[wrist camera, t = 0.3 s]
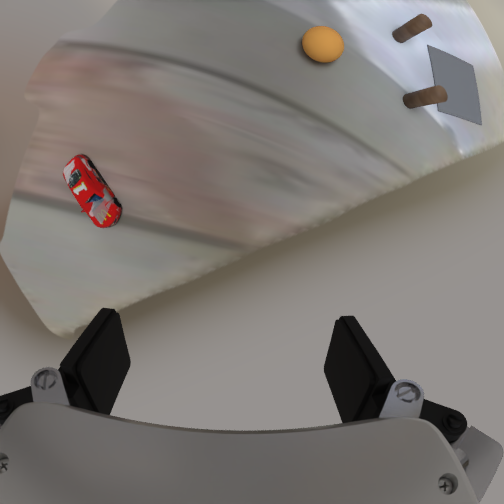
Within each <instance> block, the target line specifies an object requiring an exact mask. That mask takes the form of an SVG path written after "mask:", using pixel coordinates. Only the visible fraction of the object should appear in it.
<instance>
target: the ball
mask: <svg viewBox="0 0 504 504" xmlns="http://www.w3.org/2000/svg"><path fill="white" fill-rule="evenodd" d="M302 45H303V49H304V51H305V52H306V54H307V55H308V56H309V57H311V58H312V59H314V60H316V61H319V62H332V61H335V60H336V59H338V58H339V57H340V56H341V55H342V53H343V50H344V42H343V39H342V37H341V36H340V35H339V34H338V33H337V32H336V31H335V30H333V29H331V28H329V27H325V26H317V27H313V28H311V29H309V30H308V31H307V32H306V33H305V34H304V36H303V39H302Z"/></svg>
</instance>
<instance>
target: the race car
mask: <svg viewBox="0 0 504 504" xmlns="http://www.w3.org/2000/svg"><path fill="white" fill-rule="evenodd" d="M63 176H64V179H65V180H66V182H67V184H68V186H69V188H70V190H71V191H72V193H73V195H74V196H75V198H76V200H77V201H78V203H79V204H80V206H81V207H82V208H83V210H82V211H81V212H86V213H87V215H88V216H89V217H90V218H91V220H92V221H93V223H94V224H95V225H96V226H97V227H100V228H107V227H111V226H113V225H115V224H116V223H117V221H118V220H119V218H120V215H121V210H122V208H120V207H121V204H120V203H119V202H118V200H117V198H113V197H114V194H113V193H112V191H111V190H110V188H109V187H108V185H107V184H106V183H105V181H104V180H103V178H102V177H101V175H100V174H99V172H98V170H97V169H95V166H94V165H93V163H92V161H90V160H89V158H88V157H87V156H85V155H77V156H75V157H74V158H73V159H71V160H70V161H69V163H68V164H67V165H66V166H65V168H64V170H63Z"/></svg>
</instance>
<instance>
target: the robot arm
mask: <svg viewBox="0 0 504 504" xmlns="http://www.w3.org/2000/svg"><path fill="white" fill-rule="evenodd" d="M129 368H130V357H129V353H128V349H127V345H126V341H125V337H124V333H123V328H122V324H121V320H120V315H119V313H116V311H115V309H109V308H102V309H101V310H100V311H99V312H98V314H97V315H96V316H95V317H94V319H93V320H92V321H91V323H90V324H89V325H88V327H87V328H86V329H85V330H84V332H83V333H82V334H81V336H80V337H79V338H78V340H77V341H76V343H75V344H74V345H73V347H72V348H71V349H70V351H69V353H68V354H67V355H66V356H65V358H64V359H63V361H62V362H61V364H60V368H59V369H58V370H57V369H55V368H51V367H46V368H42V369H39V370H38V371H36V372H35V373H34V375H33V376H32V378H31V386H29V387H26V388H23V389H20V390H17V391H14V392H11V393H8V394H4V395H2V396H0V504H479V502H480V501H481V499H482V497H483V496H484V494H485V492H486V490H487V488H488V486H489V485H490V483H491V481H492V479H493V477H494V475H495V473H496V471H497V468H498V466H499V464H500V462H501V459H502V457H503V448H502V446H501V445H500V444H499V443H498V442H497V441H495V440H494V439H492V438H490V437H489V436H487V435H486V434H484V433H482V432H481V431H479V430H478V429H476V428H475V427H473V426H471V427H470V428H469V427H467V421H466V418H465V417H464V415H463V414H461V413H460V412H459V411H456V410H454V409H451V408H448V407H445V406H442V405H439V404H436V403H434V402H431V401H428V400H425V399H424V392H423V389H422V388H421V387H420V385H419V384H417V383H416V382H414V381H411V380H407V379H403V380H398V381H396V380H395V378H394V377H393V375H392V374H391V372H390V370H389V369H388V367H387V366H386V364H385V362H384V361H383V359H382V358H381V356H380V355H379V353H378V351H377V350H376V348H375V347H374V345H373V344H372V343H371V341H370V339H369V338H368V336H367V335H366V333H365V332H364V330H363V329H362V327H361V326H360V324H359V323H358V321H357V320H356V318H355V317H354V316H341V317H340V318H339V320H336V321H335V325H334V329H333V334H332V338H331V342H330V346H329V349H328V353H327V357H326V361H325V364H324V373H325V375H326V378H327V381H328V384H329V387H330V389H331V392H332V395H333V398H334V400H335V403H336V406H337V409H338V412H339V414H340V417H341V420H342V423H341V424H334V425H326V426H318V427H308V428H298V429H285V430H261V431H260V430H258V431H233V430H208V429H195V428H184V427H175V426H167V425H159V424H152V423H146V422H140V421H135V420H129V419H125V418H120V417H115V416H111V415H110V413H111V410H112V408H113V405H114V403H115V400H116V398H117V395H118V393H119V391H120V388H121V386H122V384H123V381H124V379H125V376H126V374H127V372H128V370H129Z"/></svg>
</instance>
